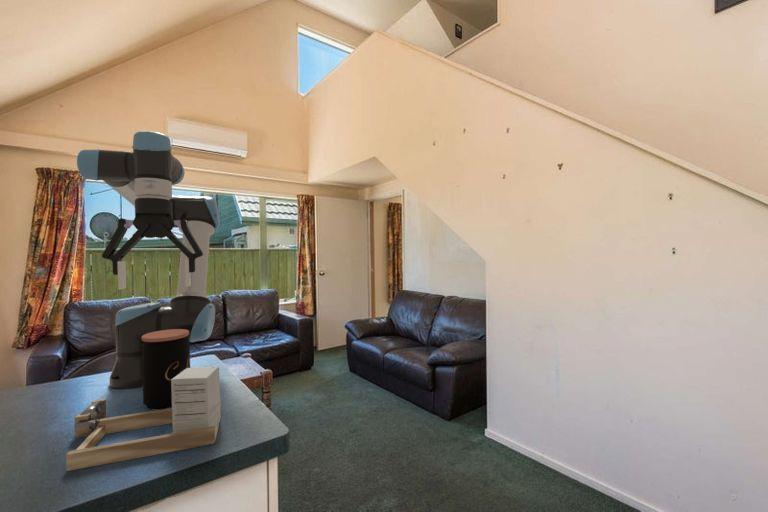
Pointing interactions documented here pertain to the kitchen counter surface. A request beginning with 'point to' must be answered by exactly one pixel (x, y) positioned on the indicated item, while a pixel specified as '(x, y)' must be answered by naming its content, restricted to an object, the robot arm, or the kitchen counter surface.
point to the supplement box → (195, 399)
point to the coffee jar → (163, 364)
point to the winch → (90, 418)
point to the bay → (137, 448)
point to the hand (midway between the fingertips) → (156, 287)
